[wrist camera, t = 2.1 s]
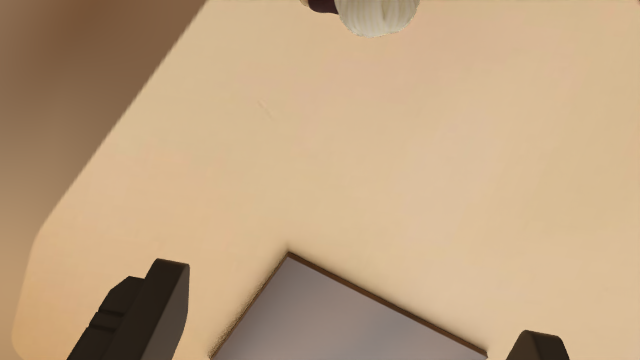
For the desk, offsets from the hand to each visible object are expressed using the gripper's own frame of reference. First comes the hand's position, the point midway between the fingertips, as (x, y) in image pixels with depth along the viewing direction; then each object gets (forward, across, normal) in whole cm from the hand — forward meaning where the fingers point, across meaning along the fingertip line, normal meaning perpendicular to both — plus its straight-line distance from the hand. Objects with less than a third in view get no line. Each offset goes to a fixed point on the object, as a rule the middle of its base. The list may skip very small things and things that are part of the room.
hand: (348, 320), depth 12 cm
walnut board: (+23, -4, +29) cm, 37 cm away
